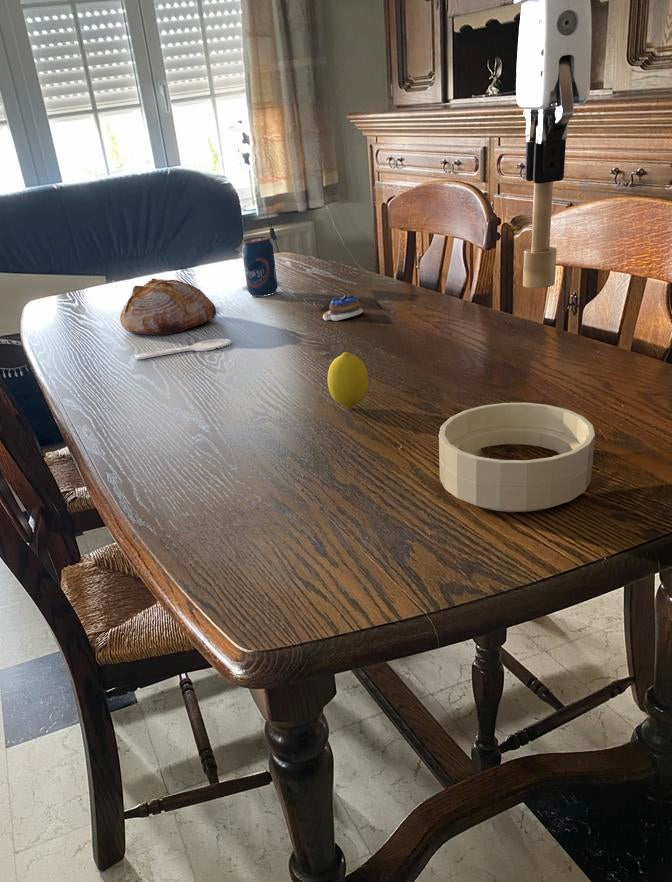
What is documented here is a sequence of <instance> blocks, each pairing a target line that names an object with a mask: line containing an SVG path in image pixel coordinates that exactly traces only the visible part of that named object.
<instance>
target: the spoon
mask: <svg viewBox="0 0 672 882" xmlns="http://www.w3.org/2000/svg"><path fill="white" fill-rule="evenodd" d="M230 343H231V344H232V340H231V339H229V338H211V339H204V340H200V341H198V342H195V343H193V344H191V345H186V346H179V347H176V348H175V347H172V348H165V349H161V350H160V349H158V350H153V351H152V350H151V351H148V352H147V351H146V352H141V353H135V354H134V355H133V359H134V360H144V359H149V358H155V357H161V356H167V355H171V354H178V353H182V352H187V351H196V352H205V351H212V350H217V349H216V348H218V349H221V348H224V347H223V346H225V347H227V346H229V345H231V344H230ZM228 344H229V345H228ZM226 345H227V346H226ZM220 347H221V348H220Z"/></svg>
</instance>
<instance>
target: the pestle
mask: <svg viewBox="0 0 672 882" xmlns="http://www.w3.org/2000/svg"><path fill="white" fill-rule="evenodd" d="M536 143H539V142H538V126H536ZM553 188H554V182H548V183H540V184H536V183H534V182H533V197H532V198H533V199H532V201H533V202H532V203H533V204H532V222H531V223H532V224H531V247H529V248H526V249H524V250H523V267H522V268H523V271H522V286H523V288H528V289H545V288H550V287H553V286H555V283H556V266H557V251H558V249H557V247H554V246H550V245H551V244H550V243H551V228H552V226H551V225H552V206H553V191H554V190H553Z"/></svg>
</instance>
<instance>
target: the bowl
mask: <svg viewBox="0 0 672 882" xmlns="http://www.w3.org/2000/svg"><path fill="white" fill-rule="evenodd" d="M595 439H596V433H595V428H594V425H593V423H591V422H590V421H589V420H588V419H587V418H586V417H584V416H583V415H581V414H579V413H576V412H574V411H572V410H571V409H567V408H563V407H559V406H554V405H550V404H542V403H535V402H534V403H533V402H501V403H500V402H499V403H493V404H486V405H485V404H484V405H480V406H476V407H472V408H468V409H465V410H462V411H461V412H458V413H457V414H454V415H452V416H450V417H449V418H448V419H446V421H445V422H443V423H442V425H441V426H440V428H439V433H438V459H439V481H440V483H441V484H442V486H443V488H444V490H445V491H447V492H448V493H449V494H450V495H452V496H453V497H455V498H456V499H458V500H460V501H464V502H466V503H468V504H470V505H473V506H475V507H478V508H482V509H486V510H490V511H497V512H505V513H526V512H527V513H528V512H536V511H542V510H547V509H550V508H553V507H557V506H559V505H562V504H565V503H569V502H572V501H573V500H574V499H576V498H577V497H579V496H580V495H582V494H583V493H585V492H586V491H587V488H588V487H589V486H590V484H591V482H592V473H593V463H594V451H595V441H596V440H595ZM500 445H525V446H526V445H527V446H533V447H540V448H544V449H547V450H551V451H554V452H556V453H558V454H557V455H553V456H550V457H542V458H533V459H525V460H524V459H497V458H490V457H487V455H486V454H485V452H484V451H483V448H487V447H493V446H494V447H495V446H500Z"/></svg>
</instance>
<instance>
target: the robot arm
mask: <svg viewBox="0 0 672 882" xmlns="http://www.w3.org/2000/svg"><path fill="white" fill-rule="evenodd" d="M513 4H514V5H521V8H520V17H519V18H520V19H519V26H518V41H517V54H516V55H517V57H516V74H515V75H516V76H515V77H516V79H515V80H516V81H515V93H516V94H515V96H516V103H517V106H518V107H520V108H521V109H522V110H523V116H524V117H525V121H526V129H525V141H526V142H525V144H526V146H525V168H524V169H525V170H524V179H525V181H526V182H533V184H534V183H536V184H540V183H548V182H553V183H554V182H555V183H556V182H561V181H563V180H564V177H565V166H566V165H565V164H566V163H565V162H566V148H567V147H566V144H567V138H568V133H569V132H568V129H569V122H570V120H571V119H572V118H573V116H574V114H575V113H574V112H575V108H574V106H575V107H576V106H577V107H578V106H582V105H584V104H585V103H586V102H587V101H588V99H589V98H590V93H591V72H592V71H591V70H592V2H591V0H513ZM536 126H538V142H539V143H536Z"/></svg>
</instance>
